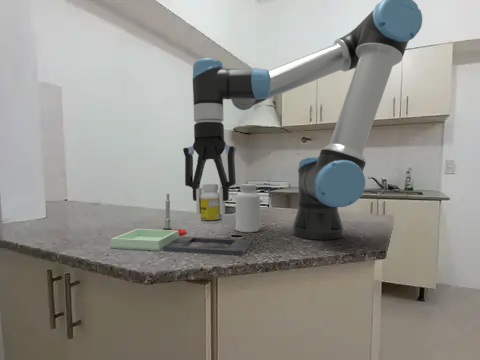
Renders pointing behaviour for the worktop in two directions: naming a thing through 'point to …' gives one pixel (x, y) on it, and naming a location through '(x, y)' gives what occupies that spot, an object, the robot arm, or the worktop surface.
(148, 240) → the tray
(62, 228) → the worktop surface
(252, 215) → the pill bottle
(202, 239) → the dark grey slotted board
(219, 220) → the supplement bottle
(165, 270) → the worktop surface
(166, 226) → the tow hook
